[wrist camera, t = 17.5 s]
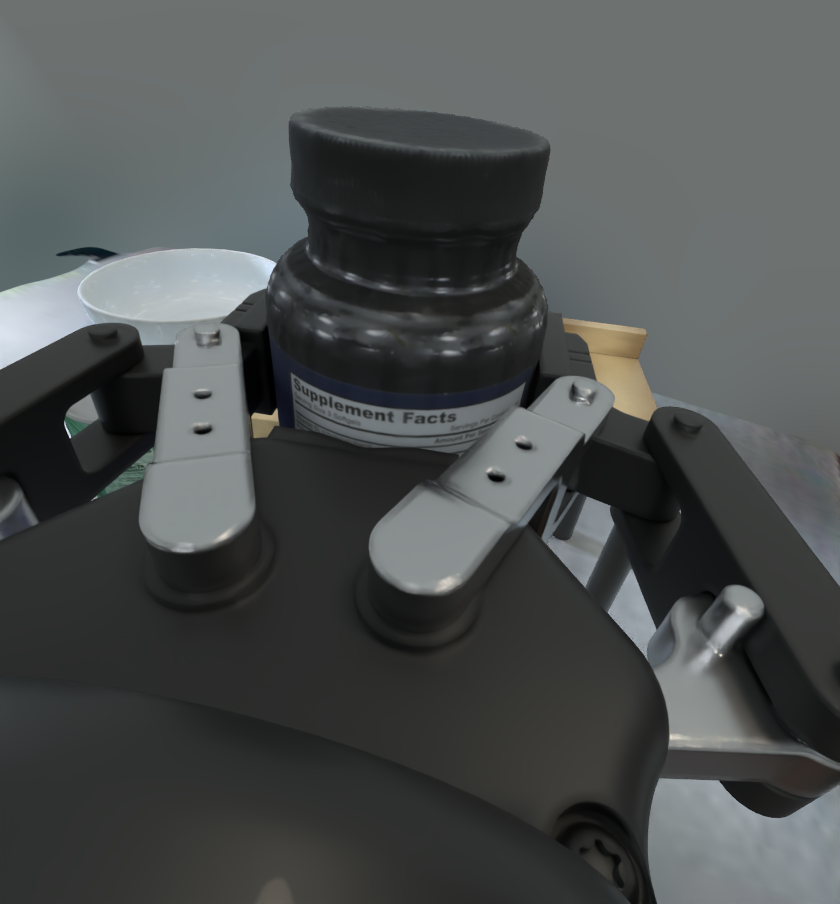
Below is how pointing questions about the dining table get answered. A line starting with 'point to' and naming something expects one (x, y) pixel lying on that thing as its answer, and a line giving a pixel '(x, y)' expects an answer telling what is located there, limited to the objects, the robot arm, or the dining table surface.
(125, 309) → the serving bowl
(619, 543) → the shelf riser
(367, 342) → the pill bottle
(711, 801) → the dining table surface
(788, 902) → the dining table surface
